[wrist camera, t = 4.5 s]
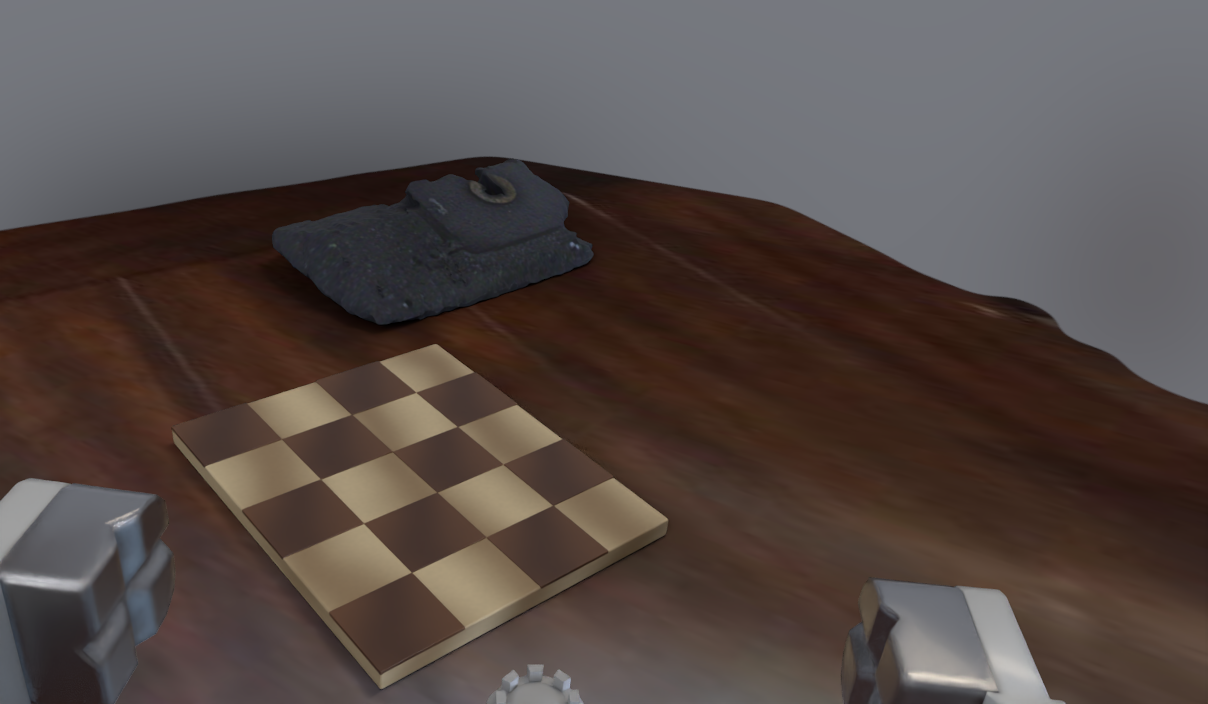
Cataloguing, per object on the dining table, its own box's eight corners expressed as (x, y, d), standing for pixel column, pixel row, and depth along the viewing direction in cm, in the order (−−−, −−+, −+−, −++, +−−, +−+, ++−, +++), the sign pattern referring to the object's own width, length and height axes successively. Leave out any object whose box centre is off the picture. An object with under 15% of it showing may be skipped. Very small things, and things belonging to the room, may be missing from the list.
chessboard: (436, 357, 62) (436, 342, 61) (666, 534, 50) (669, 518, 49) (173, 443, 52) (171, 426, 52) (380, 691, 40) (380, 672, 39)
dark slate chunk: (242, 253, 71) (236, 189, 69) (483, 191, 86) (485, 137, 83) (370, 342, 63) (368, 273, 60) (614, 256, 77) (621, 198, 75)
